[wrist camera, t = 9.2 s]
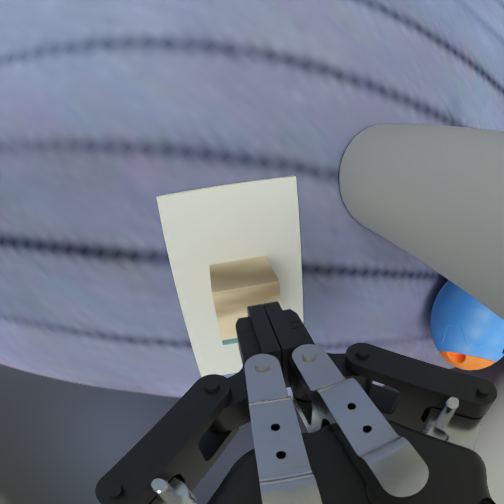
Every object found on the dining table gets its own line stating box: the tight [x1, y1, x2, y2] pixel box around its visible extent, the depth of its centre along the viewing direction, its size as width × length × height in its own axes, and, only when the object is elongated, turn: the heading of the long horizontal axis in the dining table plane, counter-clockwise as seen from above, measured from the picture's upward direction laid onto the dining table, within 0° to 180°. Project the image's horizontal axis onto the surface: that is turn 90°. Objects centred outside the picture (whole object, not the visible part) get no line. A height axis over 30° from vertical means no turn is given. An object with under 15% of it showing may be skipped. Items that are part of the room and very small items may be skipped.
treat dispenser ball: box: [431, 280, 504, 370], centre depth 34 cm, size 16×15×15 cm
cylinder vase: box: [339, 124, 504, 320], centre depth 20 cm, size 12×12×25 cm
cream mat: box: [157, 176, 304, 377], centre depth 33 cm, size 24×14×1 cm, turn 6°
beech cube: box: [209, 256, 281, 345], centre depth 30 cm, size 6×6×6 cm
